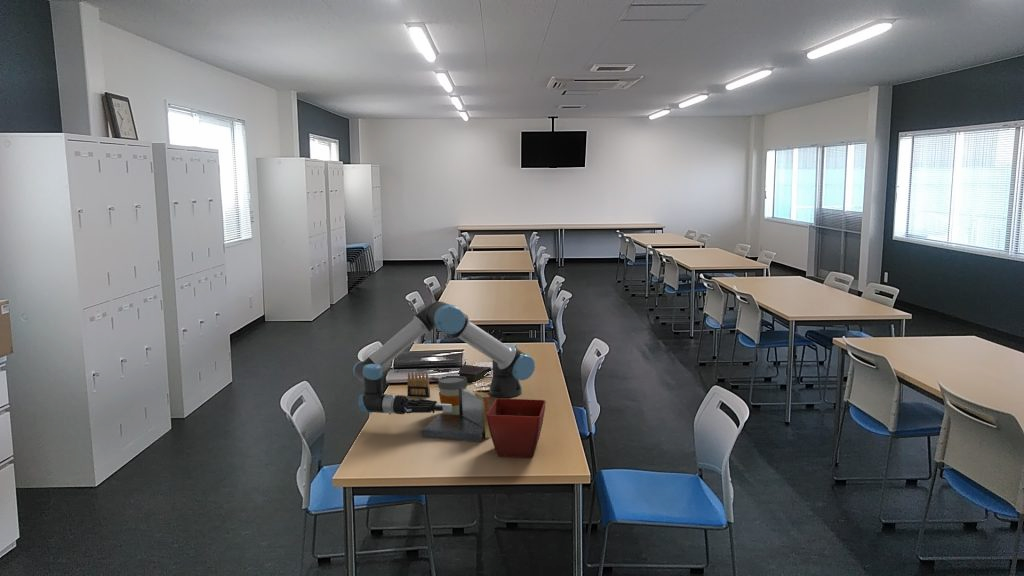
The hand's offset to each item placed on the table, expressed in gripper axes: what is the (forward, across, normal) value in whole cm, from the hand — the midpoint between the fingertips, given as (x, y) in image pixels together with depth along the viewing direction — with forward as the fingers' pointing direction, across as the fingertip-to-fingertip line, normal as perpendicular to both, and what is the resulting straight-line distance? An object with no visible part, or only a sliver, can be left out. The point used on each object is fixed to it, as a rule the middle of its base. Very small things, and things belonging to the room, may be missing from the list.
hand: (451, 408), depth 274 cm
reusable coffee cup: (-7, -22, -10) cm, 25 cm away
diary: (-23, -78, -10) cm, 82 cm away
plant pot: (+31, +14, -10) cm, 35 cm away
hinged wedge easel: (+7, -6, -6) cm, 11 cm away
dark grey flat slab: (+3, -2, -10) cm, 10 cm away
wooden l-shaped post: (+14, +1, -10) cm, 17 cm away
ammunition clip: (-31, -42, -10) cm, 53 cm away
